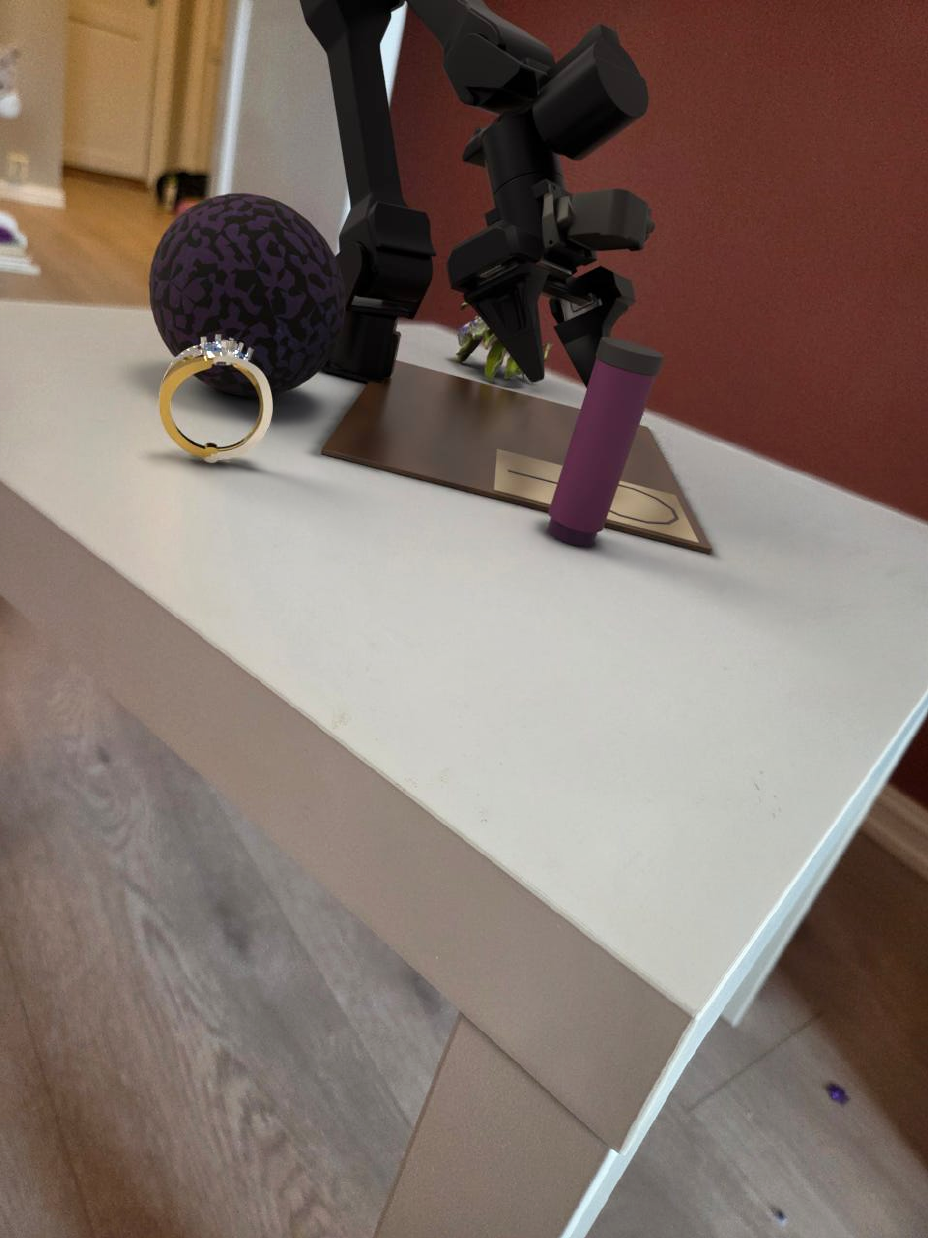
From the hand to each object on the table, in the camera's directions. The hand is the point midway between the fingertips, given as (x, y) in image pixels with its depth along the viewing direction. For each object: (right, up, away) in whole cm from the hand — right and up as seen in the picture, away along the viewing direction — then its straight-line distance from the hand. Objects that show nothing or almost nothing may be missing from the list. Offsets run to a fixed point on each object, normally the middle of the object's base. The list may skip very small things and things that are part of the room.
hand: (569, 387), depth 68 cm
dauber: (-1, -12, -6) cm, 13 cm away
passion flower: (-5, +11, +37) cm, 39 cm away
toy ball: (-27, +1, +5) cm, 27 cm away
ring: (-25, -8, -10) cm, 28 cm away
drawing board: (-3, -1, +13) cm, 14 cm away
